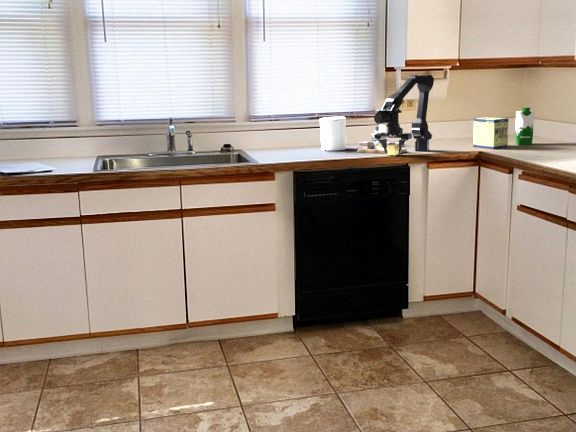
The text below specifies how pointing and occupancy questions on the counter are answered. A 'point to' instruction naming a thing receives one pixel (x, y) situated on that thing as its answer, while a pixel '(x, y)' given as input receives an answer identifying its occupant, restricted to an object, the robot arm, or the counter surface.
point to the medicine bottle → (379, 130)
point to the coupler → (393, 150)
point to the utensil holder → (333, 133)
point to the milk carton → (524, 126)
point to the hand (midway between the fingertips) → (393, 152)
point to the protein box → (490, 133)
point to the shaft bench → (372, 149)
